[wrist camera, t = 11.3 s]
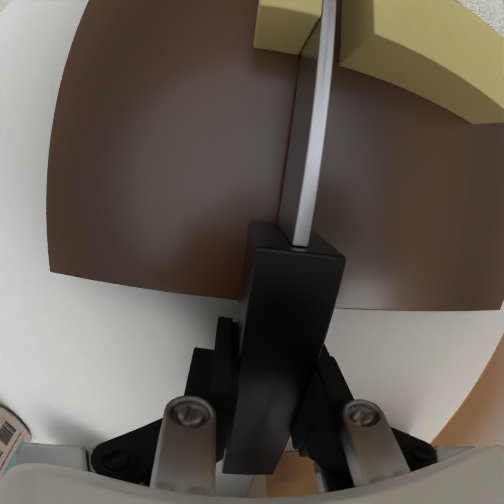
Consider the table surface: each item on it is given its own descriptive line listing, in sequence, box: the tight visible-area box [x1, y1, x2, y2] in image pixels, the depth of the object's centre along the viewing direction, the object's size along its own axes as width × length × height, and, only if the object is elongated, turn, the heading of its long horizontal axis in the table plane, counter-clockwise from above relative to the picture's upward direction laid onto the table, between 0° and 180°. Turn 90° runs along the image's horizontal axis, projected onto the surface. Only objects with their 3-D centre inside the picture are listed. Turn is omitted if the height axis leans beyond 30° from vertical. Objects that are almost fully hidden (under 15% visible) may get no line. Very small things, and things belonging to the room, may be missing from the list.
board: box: [46, 0, 504, 311], centre depth 9 cm, size 24×16×1 cm, turn 82°
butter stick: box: [339, 0, 504, 124], centre depth 6 cm, size 7×4×3 cm, turn 82°
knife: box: [222, 0, 346, 475], centre depth 7 cm, size 21×2×3 cm, turn 172°
